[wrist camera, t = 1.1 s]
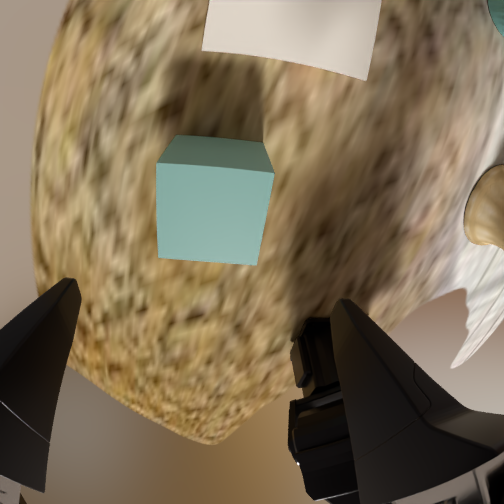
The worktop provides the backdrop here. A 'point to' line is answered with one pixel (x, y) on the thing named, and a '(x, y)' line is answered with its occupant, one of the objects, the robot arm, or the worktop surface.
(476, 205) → the hand bell
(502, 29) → the cupcake
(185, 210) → the cube
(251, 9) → the tile
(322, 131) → the worktop surface
